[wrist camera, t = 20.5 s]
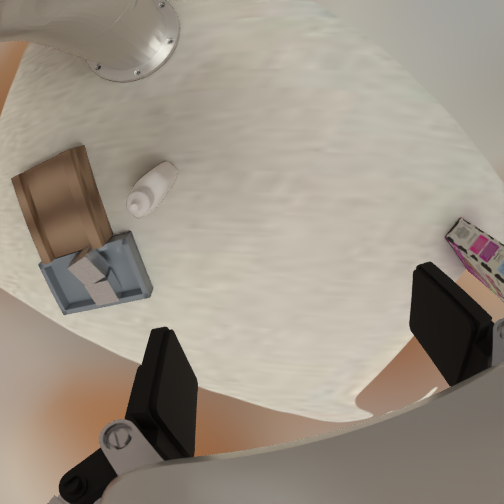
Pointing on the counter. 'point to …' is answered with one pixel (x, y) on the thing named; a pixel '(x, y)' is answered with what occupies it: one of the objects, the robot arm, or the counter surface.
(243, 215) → the counter surface
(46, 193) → the slot block
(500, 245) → the candy bar box
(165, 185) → the eye dropper bottle
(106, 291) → the chip
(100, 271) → the chip
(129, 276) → the tray
